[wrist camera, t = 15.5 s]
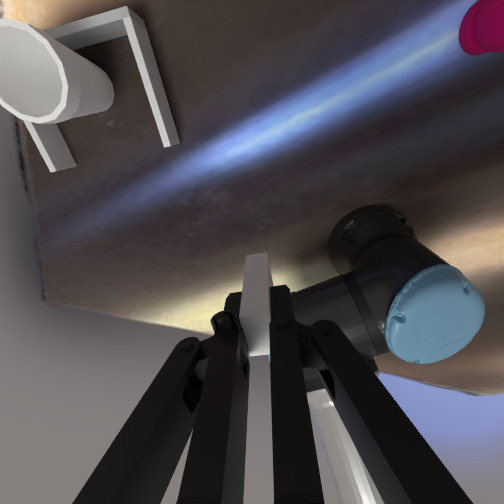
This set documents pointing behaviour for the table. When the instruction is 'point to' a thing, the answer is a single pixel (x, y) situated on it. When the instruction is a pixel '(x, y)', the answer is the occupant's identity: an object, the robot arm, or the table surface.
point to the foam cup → (47, 77)
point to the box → (134, 27)
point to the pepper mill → (483, 28)
